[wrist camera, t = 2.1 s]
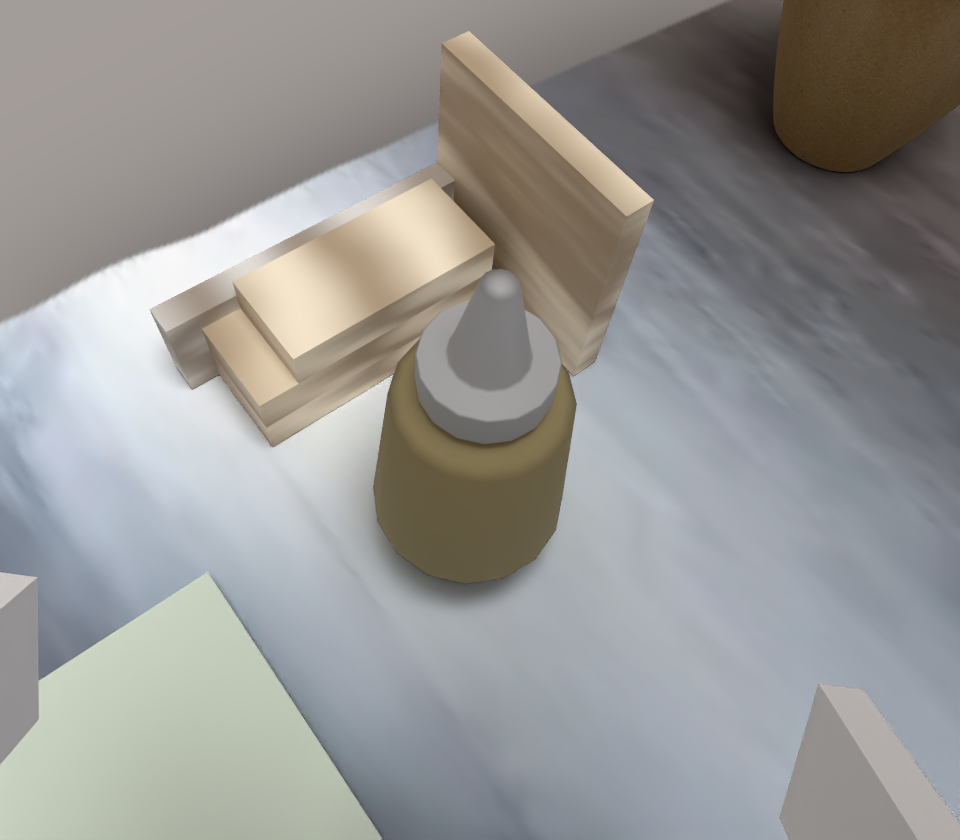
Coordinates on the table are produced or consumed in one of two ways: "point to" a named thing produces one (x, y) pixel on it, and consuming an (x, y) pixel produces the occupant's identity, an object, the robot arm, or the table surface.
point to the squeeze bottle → (476, 439)
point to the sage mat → (174, 741)
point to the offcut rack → (421, 257)
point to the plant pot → (863, 77)
